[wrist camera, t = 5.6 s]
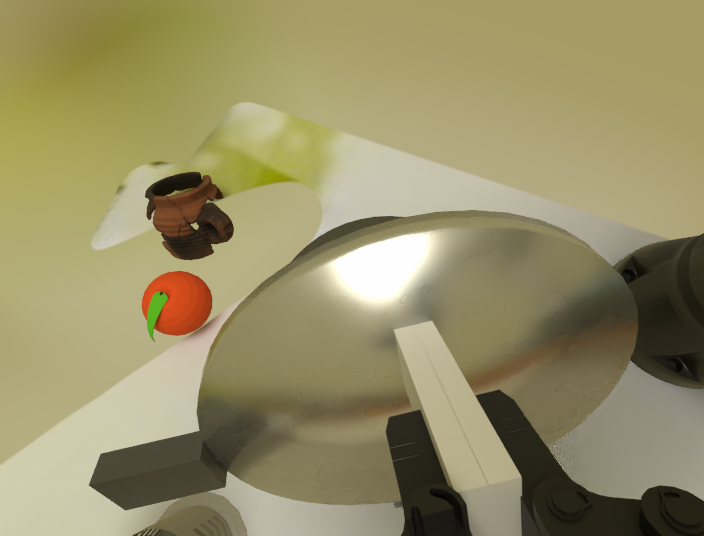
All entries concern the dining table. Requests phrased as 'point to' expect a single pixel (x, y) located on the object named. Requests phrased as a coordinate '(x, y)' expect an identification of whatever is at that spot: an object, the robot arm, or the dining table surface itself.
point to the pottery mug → (188, 215)
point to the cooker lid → (388, 356)
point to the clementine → (176, 303)
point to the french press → (199, 518)
